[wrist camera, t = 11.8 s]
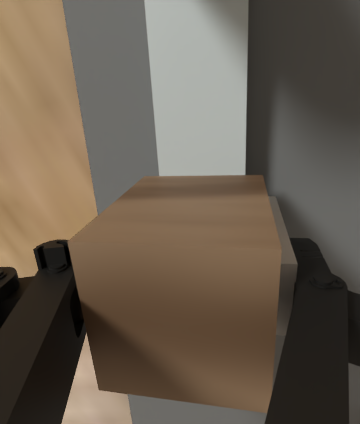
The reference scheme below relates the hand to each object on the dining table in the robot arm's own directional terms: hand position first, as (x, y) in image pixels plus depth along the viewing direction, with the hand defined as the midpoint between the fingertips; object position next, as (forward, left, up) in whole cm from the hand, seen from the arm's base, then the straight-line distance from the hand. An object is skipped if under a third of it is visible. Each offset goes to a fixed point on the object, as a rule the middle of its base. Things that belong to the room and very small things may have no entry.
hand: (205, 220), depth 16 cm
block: (0, 0, +1) cm, 1 cm away
